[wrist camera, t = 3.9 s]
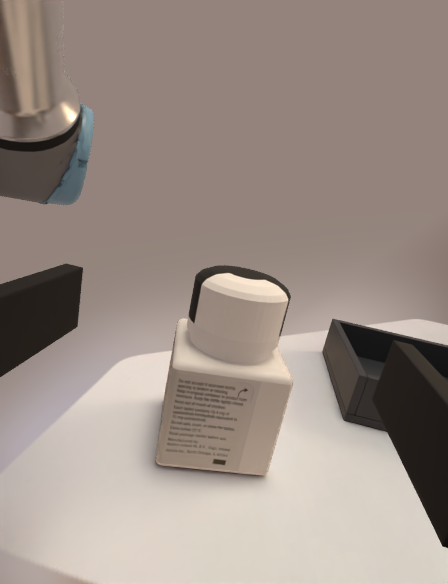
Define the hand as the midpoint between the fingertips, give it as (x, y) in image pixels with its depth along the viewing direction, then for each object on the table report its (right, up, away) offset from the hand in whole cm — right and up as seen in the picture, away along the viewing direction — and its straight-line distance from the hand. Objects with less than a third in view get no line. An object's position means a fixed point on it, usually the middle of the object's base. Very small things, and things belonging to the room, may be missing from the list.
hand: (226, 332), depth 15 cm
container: (-1, -10, +13) cm, 16 cm away
